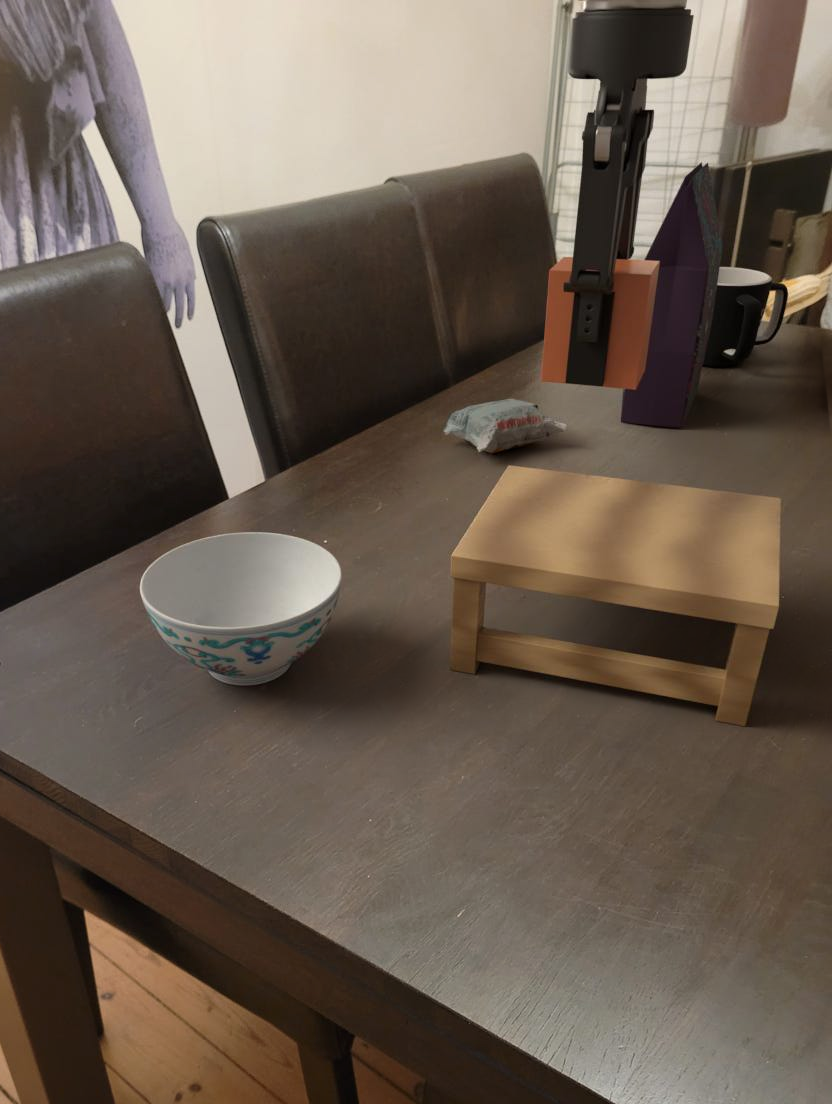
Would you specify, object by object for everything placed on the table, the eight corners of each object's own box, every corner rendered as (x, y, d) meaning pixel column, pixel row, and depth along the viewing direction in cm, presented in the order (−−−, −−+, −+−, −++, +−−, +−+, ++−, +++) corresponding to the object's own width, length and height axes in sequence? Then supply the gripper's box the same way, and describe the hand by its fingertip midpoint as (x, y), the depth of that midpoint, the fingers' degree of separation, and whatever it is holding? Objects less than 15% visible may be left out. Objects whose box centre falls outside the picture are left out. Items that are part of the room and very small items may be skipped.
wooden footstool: (755, 606, 81) (781, 497, 76) (748, 728, 67) (779, 605, 62) (501, 567, 88) (508, 465, 83) (446, 670, 74) (451, 555, 69)
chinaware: (265, 595, 84) (259, 515, 80) (383, 663, 75) (383, 576, 71) (117, 660, 76) (101, 575, 72) (228, 746, 67) (218, 653, 62)
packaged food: (563, 448, 113) (567, 407, 110) (479, 467, 108) (481, 424, 106) (520, 427, 120) (523, 387, 117) (439, 444, 115) (440, 403, 113)
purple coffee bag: (615, 423, 120) (648, 176, 105) (638, 385, 132) (670, 160, 117) (683, 431, 117) (726, 179, 102) (700, 391, 129) (740, 162, 114)
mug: (739, 383, 132) (756, 293, 126) (634, 362, 142) (646, 277, 135) (787, 357, 142) (806, 272, 136) (687, 339, 152) (700, 259, 145)
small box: (645, 370, 74) (659, 260, 69) (635, 389, 70) (651, 274, 65) (554, 363, 76) (563, 256, 72) (540, 381, 72) (549, 269, 68)
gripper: (597, 9, 69) (565, 338, 81) (543, 5, 54) (514, 404, 67) (707, 5, 66) (656, 345, 79) (680, 0, 52) (623, 415, 64)
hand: (591, 371), depth 73 cm, fingers closed on small box, 5 cm apart
